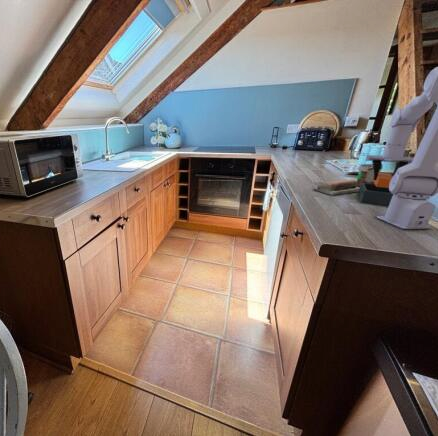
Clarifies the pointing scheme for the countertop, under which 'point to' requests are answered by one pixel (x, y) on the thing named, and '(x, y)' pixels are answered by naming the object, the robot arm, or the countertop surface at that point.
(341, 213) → the countertop surface
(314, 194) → the countertop surface
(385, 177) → the block
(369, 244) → the countertop surface
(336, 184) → the packaged product
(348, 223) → the countertop surface
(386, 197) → the dark grey open box
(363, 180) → the food container
